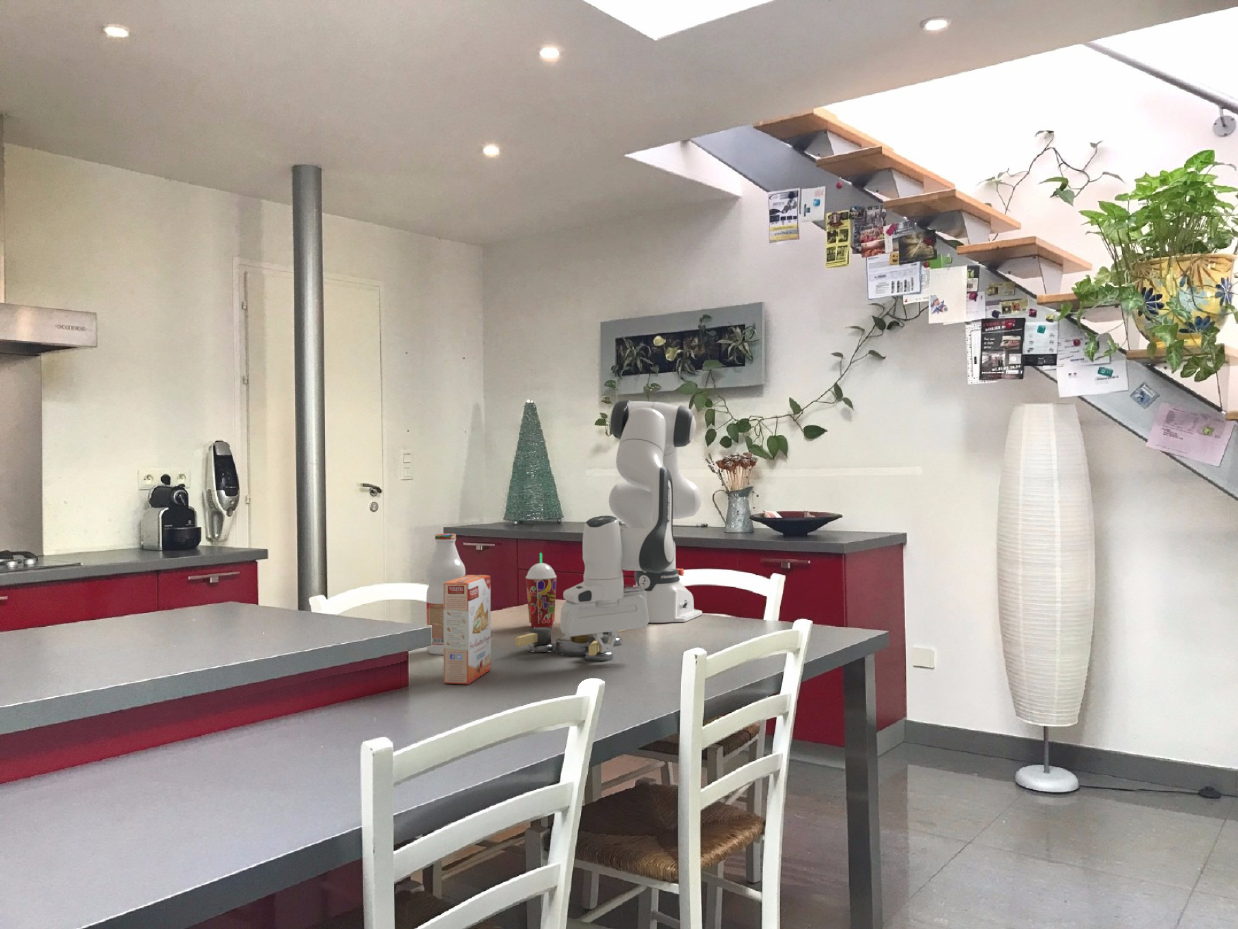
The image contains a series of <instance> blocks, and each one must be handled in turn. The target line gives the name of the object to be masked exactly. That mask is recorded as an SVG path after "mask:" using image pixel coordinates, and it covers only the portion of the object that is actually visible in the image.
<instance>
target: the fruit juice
mask: <svg viewBox="0 0 1238 929" xmlns="http://www.w3.org/2000/svg"><path fill="white" fill-rule="evenodd" d="M434 539H435V540H434V541H435V543H436V545H435V548H434V552H433V555H432V558H431V560H430V562H429V563H428V565H427V568H426V577H427V580H428V587H427V589H426V596H425V598H426V600H425V601H426V626H427V625H432V645H431V646H430V647H426V648H427V649H426V650H427V652H428V653H429V654H431V655H438V656H439V655H441V656H444V614H443V590H444V588H443V584H444V582H447V581H450V580H454V579H457V578H460V577H463V576H466V567H465V564H464V562H463V561H462V559H461V558H460V555H459V551H458V549H457V546H456V540H457V534H456V533H435V535H434Z"/></svg>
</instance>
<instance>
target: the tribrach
mask: <svg viewBox="0 0 1238 929" xmlns="http://www.w3.org/2000/svg"><path fill="white" fill-rule="evenodd" d="M589 635H593V634H588V635H581V636H573V637H568V636H563V637H559V638H557V639H555V642H552V641H551V643H549V644H532V643H531V644H527V651H528V650H529V651H534V652H548V651H556V652H557V653H556V652H555V653H556V654H558V655H561V654H563V655H562V656H566V655H567V656H568V657H584V658H585V660H586V661H590V662H607V661H612V660H613V659H614V650H613V651H612V652H604V653H600V652H598V653H597V654H596V655H589ZM620 645H622V636H620V635H618V637H617V638H616V640H615V642H614V644H613V647H615V646H620ZM548 653H549V652H548Z"/></svg>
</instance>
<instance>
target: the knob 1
mask: <svg viewBox="0 0 1238 929" xmlns="http://www.w3.org/2000/svg"><path fill="white" fill-rule="evenodd" d="M514 640H515V641H514V642H515V643H514V644H515V645H514V646H515V647H524V646H528V644H531V643H532V644H549V643H551V642H552V627H549V628H548V627H538V628H533V627H531V629H530V633H526V634H523V635H519V636H516V637H515V639H514Z"/></svg>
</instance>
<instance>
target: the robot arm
mask: <svg viewBox="0 0 1238 929" xmlns="http://www.w3.org/2000/svg"><path fill="white" fill-rule="evenodd" d="M608 422H609V429H610V433H611V435H613V437H614V438H616V439H617V440H619V444H618V448H617V452H616V457H615V458H616V459H615V466H616V470H617V471H618V473H619V475H620V476H621V478H622V479H623V480H625V481H623V482H620V483H616V484H615V485H614V486H613V487H612V489H611V491H610V493H609V497H608V504H609V508H610V510H611V512H612V514H613V515H614V516H613V515H599V516H594V517H591V518H589V519H588V520H586V521H585V522H584V526H583V532H582V561H583V564H584V572H583V581H582V582H580V583H578V584H575V585H574V586H571V587H570V588H567V589H565V590H564V591H563V593H562V594H563V599H564V600H565V602H563V604H562V606H561V608H560V609H561V610H560V618H559V620H560V621H559V622H560V624H559V627H560V632H561V633H562V635H564V636H565V637H567V636H568V637H573V636H581V635H588V634H593V637H594V638H595V640H596V641H597V643H598V644H599V652H600V653H604V652H612V651H613V652H614V650H615V649H614V647H615V646H613V644H614V642H615V640H616V638H617V636H619V632H618V631H620V630H624V631H627V630H634V629H640V628H647V626H648V624H649V623H653V624H654V623H655V624H656V623H658V624H659V623H685V622H687V621H690V620H693V619H694V618H696V617H697V618H698V617H699V616H702V615H703V610H699V609H696V608H695V607H694V605H695V604H694V602H695V601H694V595H693V594H692V592H691V591H690V590H688V589H687V588H686V586H684V585H683V584H682V583H681V582H680V576H682V577H683V576H684V574H685V570H684V568H677V566H676V563H677V562H676V561H677V560H676V555H677V554H676V543H675V541H674V529H673V528H674V523H673V522H674V520H680V519H685V518H690V517H694V516H695V515H696V514H697V513H698V512H699V509H700V507H701V504H702V495H701V491H700V488H698V486H697V485H696V484H695V483H694V482H693V481H691V480H689V479H688V478H687V477H685V476H684V474H682V472H681V470H680V468H679V464H678V461H679V460H678V448H681V447H682V448H683V447H687V446H688V445H689V444H690V443H691V442H692V439H693V437H694V435H695V433H696V430H697V421H696V417H695V413H694V412H693V411H692V409H690V408H688V407H687V406H684V405H679V406H677V405H674V404H671V403H666V402H660V401H645V400H636V401H635V400H633V401H632V399H623V400H619V401H617V402H616V403H615V404H614V405H613V407H612V410H611V411H610V414H609V420H608ZM618 519H619V520H620V521H621V522H623V523H624V525H625V526H626V527H623V526H620V523H619V520H618ZM623 571H634V581H635V586H633V587H632V586H631V587H630V586H627V587H626V586H625V587H624V572H623ZM604 632H608V634H609V635H610V638H609V640H608V643H603V642H602V640H601V638H602V637H603V633H604ZM620 632H621V631H620Z"/></svg>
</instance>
